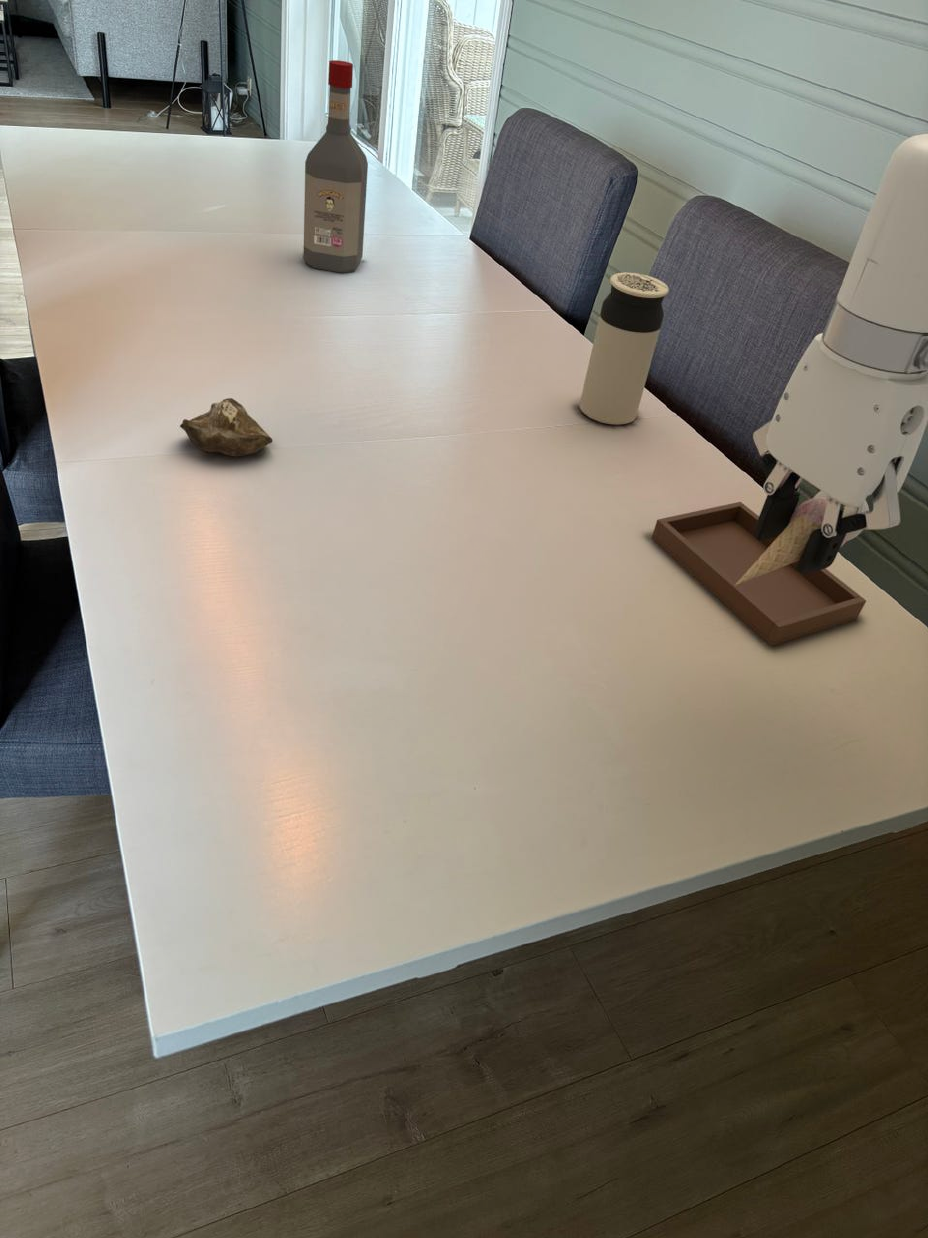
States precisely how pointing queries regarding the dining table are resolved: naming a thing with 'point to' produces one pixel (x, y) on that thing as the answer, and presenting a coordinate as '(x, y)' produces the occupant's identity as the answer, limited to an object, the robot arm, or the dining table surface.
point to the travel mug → (623, 348)
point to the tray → (766, 603)
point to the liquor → (335, 185)
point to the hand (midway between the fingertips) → (790, 550)
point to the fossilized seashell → (226, 430)
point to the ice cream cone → (795, 537)
